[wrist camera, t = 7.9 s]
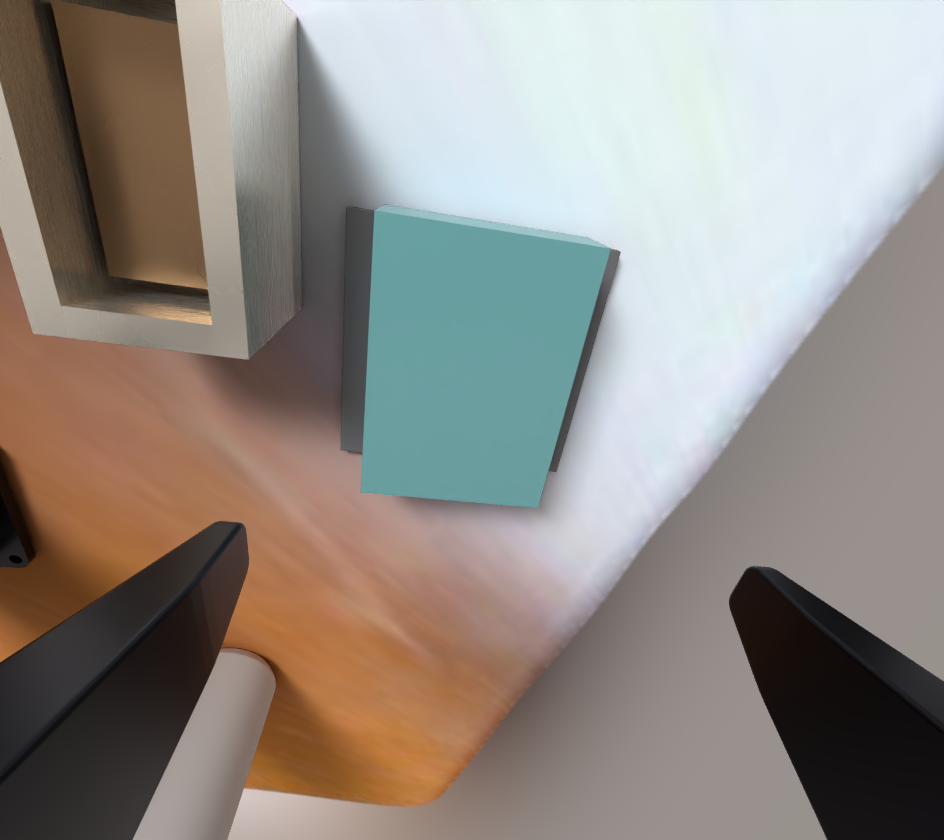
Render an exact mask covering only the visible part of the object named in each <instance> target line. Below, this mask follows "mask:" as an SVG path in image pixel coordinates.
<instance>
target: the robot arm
mask: <svg viewBox="0 0 944 840" xmlns="http://www.w3.org/2000/svg"><path fill="white" fill-rule="evenodd" d="M35 557H36V555H35V551H34V549H33V546H32V544H31V541H30V539H29V536H28V534H27V531H26V529H25V526H24V524H23V521H22V519H21V516H20V514H19V511H18V509H17V506H16V504H15V501H14V499H13V496H12V494H11V491H10V488H9V486H8V483H7V481H6V478H5V476H4V473H3V471H2V468H1V466H0V566H1V567H16V568H22V567H26V566H27V565H28V564H29V563H30V562H32V561H33V560H34V558H35ZM248 566H249V554H248V544H247V534H246V528H245V526H244V525H243V524H242V523H238V522H226V521H218V522H215V523H213V524H212V525H210V526H209V527H207V528H206V529H204V530H202V531H201V532H199V533H198V534H196V535H195V536H193V537H192V538H190V539H189V540H187V541H186V542H184V543H183V544H181V545H179V546H178V547H176V548H175V549H173V550H172V551H170V552H169V553H167V554H166V555H164V556H163V557H161V558H160V559H158V560H157V561H155V562H153V563H152V564H150V565H149V566H147V567H146V568H144V569H143V570H141V571H140V572H138V573H137V574H135V575H134V576H132V577H130V578H129V579H127V580H126V581H124V582H123V583H121V584H120V585H118V586H117V587H115V588H114V589H112V590H111V591H109V592H108V593H106V594H104V595H103V596H101V597H100V598H98V599H97V600H95V601H94V602H92V603H91V604H89V605H88V606H86V607H85V608H83V609H81V610H80V611H78V612H77V613H75V614H74V615H72V616H71V617H69V618H68V619H66V620H65V621H63V622H62V623H60V624H59V625H57V626H55V627H54V628H52V629H51V630H49V631H48V632H46V633H45V634H43V635H42V636H40V637H39V638H37V639H36V640H34V641H32V642H31V643H29V644H28V645H26V646H25V647H23V648H22V649H20V650H19V651H17V652H16V653H14V654H13V655H11V656H10V657H8V658H6V659H5V660H3V661H2V662H0V840H133V838H134V836H135V834H136V832H137V830H138V828H139V825H140V823H141V821H142V819H143V817H144V815H145V813H146V811H147V808H148V806H149V804H150V802H151V800H152V798H153V796H154V794H155V791H156V789H157V787H158V785H159V783H160V781H161V779H162V777H163V775H164V772H165V770H166V768H167V766H168V764H169V762H170V760H171V758H172V755H173V753H174V751H175V749H176V747H177V745H178V743H179V741H180V738H181V736H182V734H183V732H184V730H185V728H186V726H187V724H188V722H189V719H190V717H191V715H192V713H193V711H194V709H195V707H196V705H197V702H198V700H199V698H200V696H201V694H202V692H203V690H204V688H205V685H206V683H207V681H208V679H209V677H210V674H211V672H212V670H213V668H214V665H215V663H216V660H217V657H218V655H219V652H220V649H221V647H222V644H223V641H224V638H225V635H226V632H227V629H228V626H229V624H230V621H231V618H232V615H233V612H234V609H235V606H236V603H237V600H238V598H239V595H240V592H241V589H242V586H243V583H244V580H245V577H246V575H247V571H248ZM729 606H730V611H731V613H732V616H733V619H734V622H735V624H736V627H737V630H738V633H739V636H740V638H741V641H742V644H743V647H744V650H745V653H746V655H747V658H748V661H749V664H750V667H751V669H752V672H753V675H754V678H755V681H756V683H757V685H758V688H759V691H760V693H761V696H762V698H763V700H764V703H765V705H766V707H767V709H768V712H769V714H770V716H771V718H772V720H773V722H774V725H775V727H776V729H777V731H778V733H779V736H780V738H781V740H782V742H783V744H784V747H785V749H786V751H787V753H788V755H789V758H790V760H791V762H792V764H793V766H794V768H795V771H796V773H797V775H798V777H799V779H800V782H801V784H802V786H803V788H804V790H805V793H806V795H807V797H808V799H809V801H810V803H811V806H812V808H813V810H814V812H815V814H816V817H817V819H818V821H819V823H820V825H821V827H822V830H823V832H824V834H825V836H826V838H827V840H944V681H942V680H941V679H939V678H938V677H936V676H935V675H933V674H932V673H930V672H929V671H927V670H926V669H924V668H923V667H921V666H919V665H918V664H916V663H915V662H914V661H912V660H911V659H909V658H908V657H906V656H905V655H903V654H902V653H900V652H899V651H897V650H896V649H894V648H893V647H891V646H890V645H888V644H887V643H885V642H884V641H882V640H881V639H879V638H878V637H876V636H875V635H873V634H872V633H870V632H869V631H867V630H866V629H864V628H863V627H861V626H860V625H858V624H857V623H855V622H854V621H852V620H851V619H849V618H848V617H846V616H845V615H843V614H842V613H840V612H838V611H837V610H836V609H834V608H833V607H831V606H830V605H828V604H827V603H825V602H824V601H822V600H821V599H819V598H817V597H816V596H815V595H813V594H812V593H810V592H809V591H807V590H806V589H804V588H803V587H801V586H800V585H798V584H797V583H795V582H794V581H792V580H791V579H789V578H788V577H786V576H785V575H783V574H782V573H780V572H779V571H777V570H775V569H773V568H770V567H759V566H751V567H749V568H747V569H746V570H745V571H744V573H743V575H742V577H741V578H740V580H739V582H738V583H737V585H736V586H735V588H734V590H733V591H732V593H731V595H730V598H729Z"/></svg>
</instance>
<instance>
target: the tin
mask: <svg viewBox="0 0 944 840" xmlns="http://www.w3.org/2000/svg"><path fill="white" fill-rule="evenodd" d="M0 227H1V230H2V234H3V237H4V240H5V244H6V247H7V250H8V253H9V257H10V260H11V263H12V266H13V270H14V273H15V276H16V279H17V283H18V286H19V289H20V293H21V296H22V299H23V302H24V306H25V309H26V312H27V315H28V319H29V322H30V325H31V328H32V332H33V334H40V335H48V336H56V337H65V338H73V339H81V340H89V341H98V342H106V343H114V344H123V345H131V346H139V347H147V348H156V349H164V350H172V351H180V352H189V353H197V354H205V355H213V356H222V357H230V358H238V359H247V360H249V359H250V358H251V357H252V356H253V355H254V354H255V353H256V352H257V351H258V350H259V349H260V348H262V347H263V346H264V345H265V344H266V343H267V342H268V341H269V340H270V339H271V338H272V337H273V336H274V335H275V334H276V333H277V332H278V331H279V330H280V329H281V328H282V327H283V326H284V325H285V324H286V323H287V322H288V321H289V320H290V319H291V318H292V317H293V316H295V315H296V314H297V313H298V312H299V311H300V310H301V309H302V263H301V212H300V160H299V108H298V57H297V15H296V14H295V13H294V12H293V11H292V10H291V9H290V8H289V7H288V5H287V4H286V3H285V2H284V1H283V0H0Z"/></svg>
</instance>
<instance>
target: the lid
mask: <svg viewBox="0 0 944 840" xmlns="http://www.w3.org/2000/svg"><path fill="white" fill-rule="evenodd" d="M610 250H611V248H609V247H607V246H605V245H602V244H600V243H598V242H596V241H594V240H592V239H590V238H588V237H582V236H576V235H570V234H564V233H557V232H551V231H545V230H539V229H533V228H527V227H521V226H515V225H508V224H502V223H496V222H490V221H484V220H478V219H472V218H466V217H459V216H453V215H447V214H441V213H435V212H429V211H423V210H417V209H411V208H404V207H398V206H392V205H386V204H385V205H383V206H381V207H379V208H378V209H376V210H374V231H373V251H372V272H371V292H370V313H369V333H368V354H367V374H366V395H365V415H364V436H363V456H362V477H361V492H362V493H373V494H384V495H396V496H407V497H418V498H429V499H440V500H452V501H463V502H474V503H485V504H496V505H507V506H519V507H530V508H538V506H539V502H540V499H541V495H542V492H543V488H544V484H545V481H546V477H547V474H548V470H549V467H550V463H551V460H552V456H553V452H554V449H555V445H556V442H557V438H558V435H559V431H560V428H561V424H562V420H563V417H564V413H565V410H566V406H567V403H568V399H569V396H570V392H571V388H572V385H573V381H574V378H575V374H576V371H577V367H578V364H579V360H580V356H581V353H582V349H583V346H584V342H585V339H586V335H587V332H588V328H589V324H590V321H591V317H592V314H593V310H594V307H595V303H596V300H597V296H598V292H599V289H600V285H601V282H602V278H603V275H604V271H605V267H606V264H607V260H608V257H609V253H610Z"/></svg>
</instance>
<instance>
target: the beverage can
mask: <svg viewBox="0 0 944 840" xmlns="http://www.w3.org/2000/svg"><path fill="white" fill-rule="evenodd" d="M275 689H276V681H275V677H274V674H273V671H272V670H271V668H270V666H269V665H268V664H267V662H266V661H265V660H264V659H263V658H261V657H260V656H258V655H257V654H255V653H252V652H250V651H247V650H243V649H238V648H221V649H220V652H219V655H218V657H217V660H216V663H215V665H214V668H213V670H212V672H211V674H210V677H209V679H208V681H207V683H206V685H205V688H204V690H203V692H202V694H201V696H200V698H199V700H198V702H197V705H196V707H195V709H194V711H193V713H192V715H191V717H190V719H189V722H188V724H187V726H186V728H185V730H184V732H183V734H182V736H181V738H180V741H179V743H178V745H177V747H176V749H175V751H174V753H173V755H172V758H171V760H170V762H169V764H168V766H167V768H166V770H165V772H164V775H163V777H162V779H161V781H160V783H159V785H158V787H157V789H156V791H155V794H154V796H153V798H152V800H151V802H150V804H149V806H148V808H147V811H146V813H145V815H144V817H143V819H142V821H141V823H140V825H139V828H138V830H137V832H136V834H135V836H134V838H133V840H227V838H228V835H229V832H230V829H231V826H232V823H233V819H234V817H235V814H236V811H237V807H238V804H239V801H240V798H241V795H242V792H243V789H244V786H245V783H246V780H247V777H248V774H249V771H250V767H251V764H252V761H253V758H254V755H255V752H256V749H257V746H258V743H259V739H260V736H261V733H262V730H263V727H264V724H265V721H266V718H267V714H268V711H269V708H270V705H271V702H272V699H273V695H274V692H275Z"/></svg>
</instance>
